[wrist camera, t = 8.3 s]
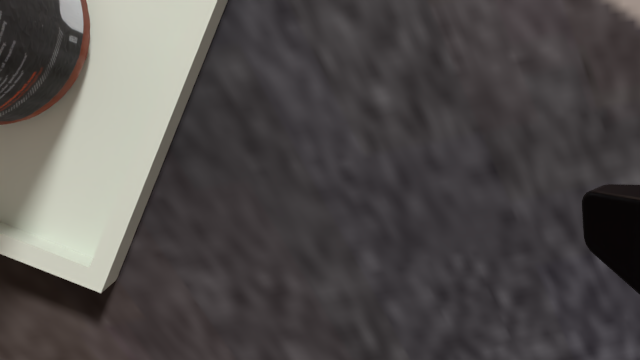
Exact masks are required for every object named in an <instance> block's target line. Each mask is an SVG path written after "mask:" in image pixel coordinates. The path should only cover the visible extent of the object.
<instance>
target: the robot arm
mask: <svg viewBox="0 0 640 360" xmlns="http://www.w3.org/2000/svg"><path fill="white" fill-rule="evenodd" d="M582 213H583V229H584V239H585V242H586V245H587V246H588V248H589V249H590V251H591V252H592V253H593V254H594V255H596V256H597V257H598V258H599V259H600V260H601V261H602V262H604V263H605V264H606V265H607V266H608V267H609V268H610V269H611V270H613V271H614V272H615V273H616V274H617V275H618V276H619V277H621V278H622V279H623V280H624V281H625V282H626V283H627V284H629V285H630V286H631V287H632V288H633V289H634V290H635V291H636V292H638V293H639V294H640V185H613V184H609V185H603V186H601V187H598V188H596V189H594V190H591V191H589V192H587V193H586V194H585V195H584V197H583V200H582Z"/></svg>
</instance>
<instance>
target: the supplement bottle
mask: <svg viewBox="0 0 640 360" xmlns="http://www.w3.org/2000/svg"><path fill="white" fill-rule="evenodd" d="M89 43H90V17H89V12H88V6H87V2H86V0H0V125H4V124H11V123H15V122H20V121H23V120H28V119H30V118H32V117H35V116H37V115H39V114H41V113H42V112H44V111H46V110H47V109H49V108H50V107H52V106H53V105H54V104H55V103H57V102H58V101H59V100H60V99H61V98H62V97H63V96H64V95H65V94H66V93H67V92H68V90H69V89H70V88H71V87H72V85H73V84H74V82H75V81H76V80H77V78H78V76H79V74H80V72H81V70H82V67H83V65H84V62H85V60H86V58H87V54H88V48H89Z"/></svg>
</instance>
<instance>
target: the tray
mask: <svg viewBox="0 0 640 360" xmlns="http://www.w3.org/2000/svg"><path fill="white" fill-rule="evenodd" d="M227 1H228V0H86V2H87V6H88V12H89V17H90V43H89V48H88V54H87V58H86V60H85V62H84V65H83V67H82V70H81V72H80V74H79V76H78V78H77V80H76V81H75V82H74V84H73V85H72V87H71V88H70V89H69V90H68V92H67V93H66V94H65V95H64V96H63V97H62V98H61V99H60V100H59V101H58V102H57V103H55V104H54V105H53V106H52V107H50V108H49V109H47V110H46V111H44V112H42V113H41V114H39V115H37V116H35V117H32V118H30V119H28V120H23V121H20V122H15V123H11V124H4V125H0V254H2V255H4V256H7V257H9V258H12V259H15V260H17V261H20V262H22V263H25V264H27V265H30V266H33V267H35V268H38V269H40V270H43V271H45V272H48V273H50V274H53V275H56V276H58V277H61V278H63V279H66V280H68V281H71V282H73V283H76V284H79V285H81V286H84V287H86V288H89V289H91V290H94V291H96V292H99V293H102V292H103V291H104V290H105V289H107V288H108V287H109V286H110V285H111V284H112V283H114V282H115V281H116V280H117V277H118V275H119V272H120V270H121V267H122V265H123V262H124V260H125V257H126V255H127V252H128V250H129V247H130V245H131V242H132V240H133V237H134V234H135V232H136V229H137V227H138V224H139V222H140V219H141V217H142V214H143V212H144V209H145V207H146V204H147V202H148V199H149V197H150V194H151V192H152V189H153V187H154V184H155V182H156V179H157V177H158V174H159V172H160V169H161V167H162V164H163V162H164V159H165V157H166V154H167V152H168V149H169V147H170V144H171V142H172V139H173V137H174V134H175V132H176V129H177V127H178V124H179V122H180V119H181V117H182V114H183V112H184V109H185V107H186V104H187V102H188V99H189V97H190V94H191V92H192V89H193V87H194V84H195V82H196V79H197V77H198V74H199V72H200V69H201V67H202V64H203V62H204V59H205V57H206V54H207V52H208V49H209V47H210V44H211V41H212V39H213V36H214V34H215V31H216V29H217V26H218V24H219V21H220V19H221V16H222V14H223V11H224V9H225V6H226V4H227Z"/></svg>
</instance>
